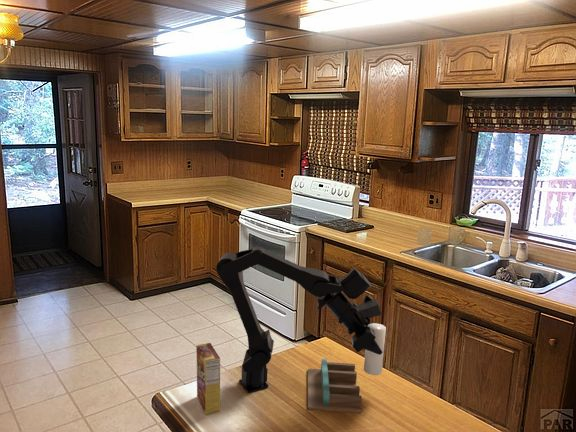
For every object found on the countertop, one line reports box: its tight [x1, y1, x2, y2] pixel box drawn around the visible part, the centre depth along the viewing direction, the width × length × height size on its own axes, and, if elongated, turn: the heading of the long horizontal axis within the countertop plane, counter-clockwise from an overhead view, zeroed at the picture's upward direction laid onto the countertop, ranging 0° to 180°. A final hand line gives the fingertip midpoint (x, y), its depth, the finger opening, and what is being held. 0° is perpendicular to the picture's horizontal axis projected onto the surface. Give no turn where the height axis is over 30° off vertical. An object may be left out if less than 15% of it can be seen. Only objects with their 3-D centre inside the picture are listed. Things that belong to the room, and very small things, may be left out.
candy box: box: [195, 342, 221, 415], centre depth 122 cm, size 9×4×15 cm, turn 25°
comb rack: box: [307, 358, 363, 414], centre depth 132 cm, size 20×14×5 cm
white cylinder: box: [363, 322, 387, 376], centre depth 130 cm, size 5×5×13 cm
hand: (379, 349), depth 130 cm, fingers closed on white cylinder, 5 cm apart
